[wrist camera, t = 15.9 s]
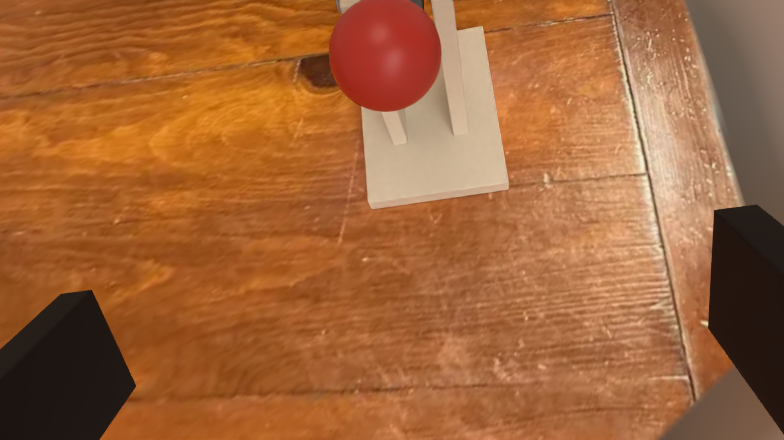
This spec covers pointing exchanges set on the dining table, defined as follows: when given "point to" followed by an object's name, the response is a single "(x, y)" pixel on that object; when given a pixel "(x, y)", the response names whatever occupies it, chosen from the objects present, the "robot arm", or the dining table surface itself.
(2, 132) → the dining table surface
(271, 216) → the dining table surface
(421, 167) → the switch bracket
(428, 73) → the switch lever
